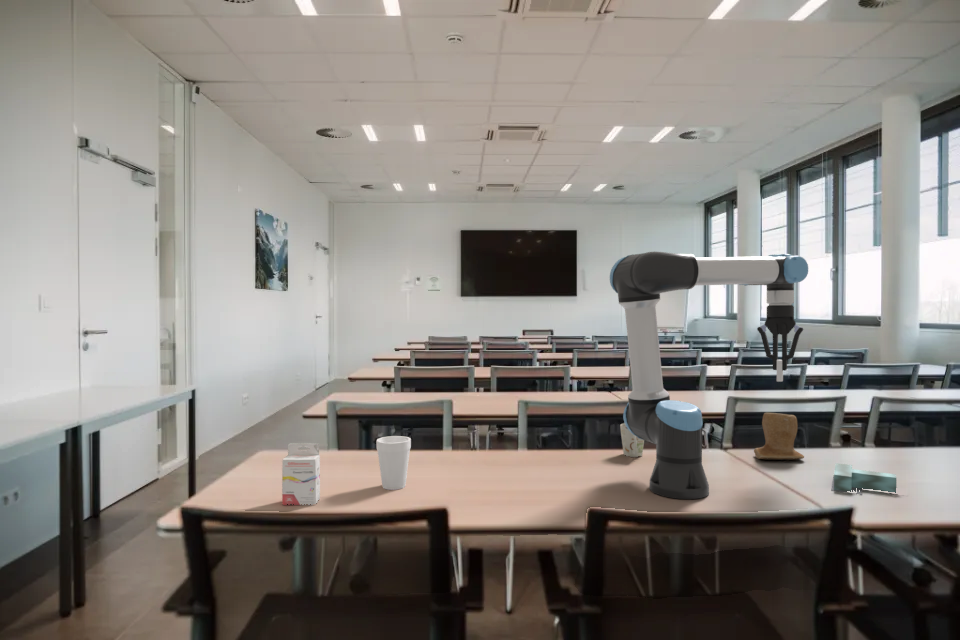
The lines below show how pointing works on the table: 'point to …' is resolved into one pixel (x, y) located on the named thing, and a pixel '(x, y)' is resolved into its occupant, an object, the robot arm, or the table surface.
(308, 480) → the ink cartridge box
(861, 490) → the pad
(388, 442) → the foam cup
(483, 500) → the table surface
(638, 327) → the robot arm
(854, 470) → the t block
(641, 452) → the mug
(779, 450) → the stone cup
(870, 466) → the table surface
